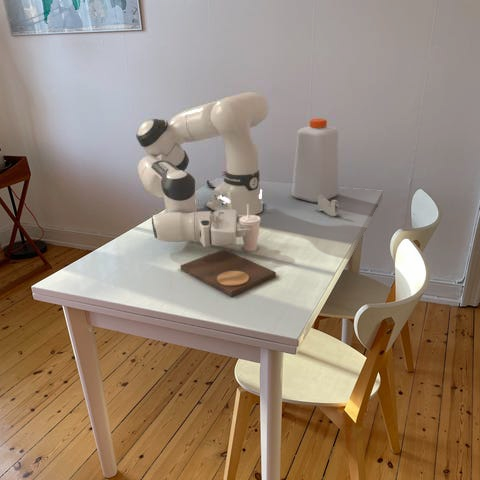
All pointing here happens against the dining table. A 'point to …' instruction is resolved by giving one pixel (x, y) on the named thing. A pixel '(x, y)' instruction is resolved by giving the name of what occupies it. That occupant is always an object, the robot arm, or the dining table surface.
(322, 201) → the duck shaped cutout
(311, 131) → the plastic bottle
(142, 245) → the dining table surface
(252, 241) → the smoothie
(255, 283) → the serving board
